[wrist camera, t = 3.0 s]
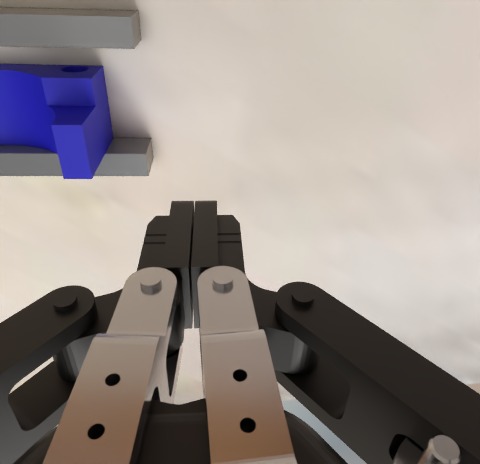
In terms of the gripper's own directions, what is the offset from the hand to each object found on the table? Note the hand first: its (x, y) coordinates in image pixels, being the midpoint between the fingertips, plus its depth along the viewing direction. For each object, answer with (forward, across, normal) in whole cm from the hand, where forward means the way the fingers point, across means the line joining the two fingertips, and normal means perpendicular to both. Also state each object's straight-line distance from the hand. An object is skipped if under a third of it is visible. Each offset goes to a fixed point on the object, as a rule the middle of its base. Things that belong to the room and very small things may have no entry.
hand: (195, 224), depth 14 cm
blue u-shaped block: (+15, +12, 0) cm, 19 cm away
